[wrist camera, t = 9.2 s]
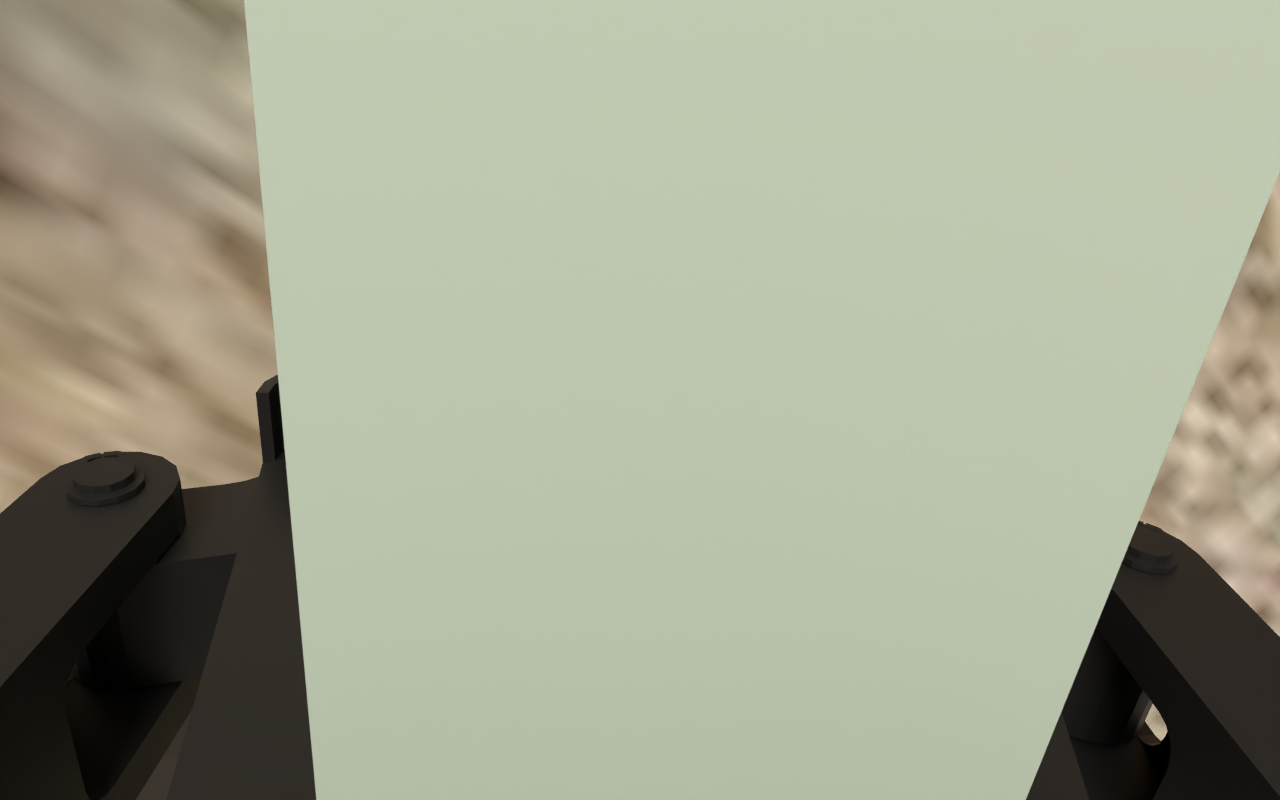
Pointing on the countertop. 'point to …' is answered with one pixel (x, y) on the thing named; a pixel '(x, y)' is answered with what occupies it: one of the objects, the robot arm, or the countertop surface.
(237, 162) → the countertop surface
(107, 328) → the countertop surface
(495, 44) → the door
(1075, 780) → the robot arm
